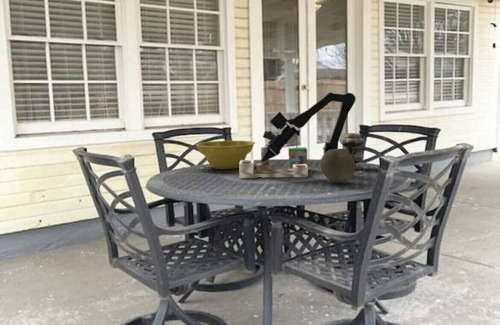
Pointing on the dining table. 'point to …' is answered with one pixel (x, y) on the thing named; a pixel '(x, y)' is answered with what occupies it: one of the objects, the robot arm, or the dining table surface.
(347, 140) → the apothecary jar
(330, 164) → the cantaloupe
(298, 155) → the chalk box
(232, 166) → the planter bowl
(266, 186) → the dining table surface
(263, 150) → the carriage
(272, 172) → the rail track
